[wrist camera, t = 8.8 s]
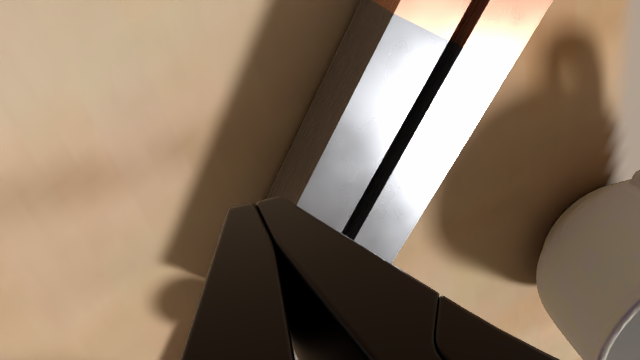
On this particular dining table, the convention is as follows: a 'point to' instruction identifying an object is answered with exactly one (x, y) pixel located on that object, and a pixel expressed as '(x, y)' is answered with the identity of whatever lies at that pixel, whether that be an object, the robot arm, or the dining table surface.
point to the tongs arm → (363, 103)
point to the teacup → (596, 273)
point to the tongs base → (442, 121)
